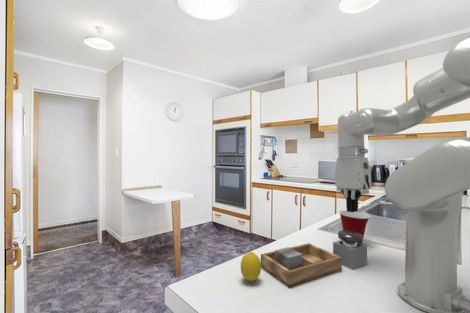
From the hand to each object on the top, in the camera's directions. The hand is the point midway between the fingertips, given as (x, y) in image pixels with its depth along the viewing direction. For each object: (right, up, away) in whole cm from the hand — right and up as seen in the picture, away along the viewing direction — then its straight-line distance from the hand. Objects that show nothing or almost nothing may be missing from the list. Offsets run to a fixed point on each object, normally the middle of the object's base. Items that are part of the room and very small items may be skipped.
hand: (352, 211), depth 77 cm
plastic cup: (+9, -17, +17) cm, 26 cm away
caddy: (-17, -17, -4) cm, 24 cm away
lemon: (-33, -17, -11) cm, 38 cm away
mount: (0, -17, +1) cm, 17 cm away
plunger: (0, -16, +1) cm, 16 cm away
